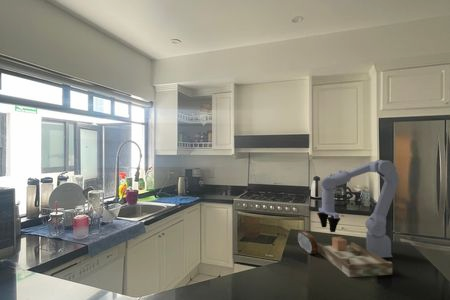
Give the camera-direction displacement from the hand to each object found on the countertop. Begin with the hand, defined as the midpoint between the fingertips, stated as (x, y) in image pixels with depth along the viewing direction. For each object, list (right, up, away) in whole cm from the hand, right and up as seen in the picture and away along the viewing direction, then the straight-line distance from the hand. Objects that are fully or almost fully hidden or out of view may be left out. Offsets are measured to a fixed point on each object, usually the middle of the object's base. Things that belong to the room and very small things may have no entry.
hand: (328, 229), depth 119 cm
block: (+3, -7, -6) cm, 10 cm away
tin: (-11, -10, -2) cm, 15 cm away
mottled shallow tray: (+4, -9, -14) cm, 18 cm away
